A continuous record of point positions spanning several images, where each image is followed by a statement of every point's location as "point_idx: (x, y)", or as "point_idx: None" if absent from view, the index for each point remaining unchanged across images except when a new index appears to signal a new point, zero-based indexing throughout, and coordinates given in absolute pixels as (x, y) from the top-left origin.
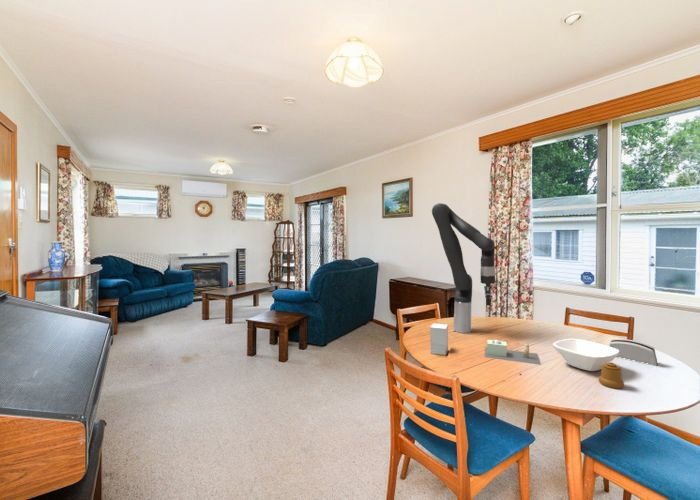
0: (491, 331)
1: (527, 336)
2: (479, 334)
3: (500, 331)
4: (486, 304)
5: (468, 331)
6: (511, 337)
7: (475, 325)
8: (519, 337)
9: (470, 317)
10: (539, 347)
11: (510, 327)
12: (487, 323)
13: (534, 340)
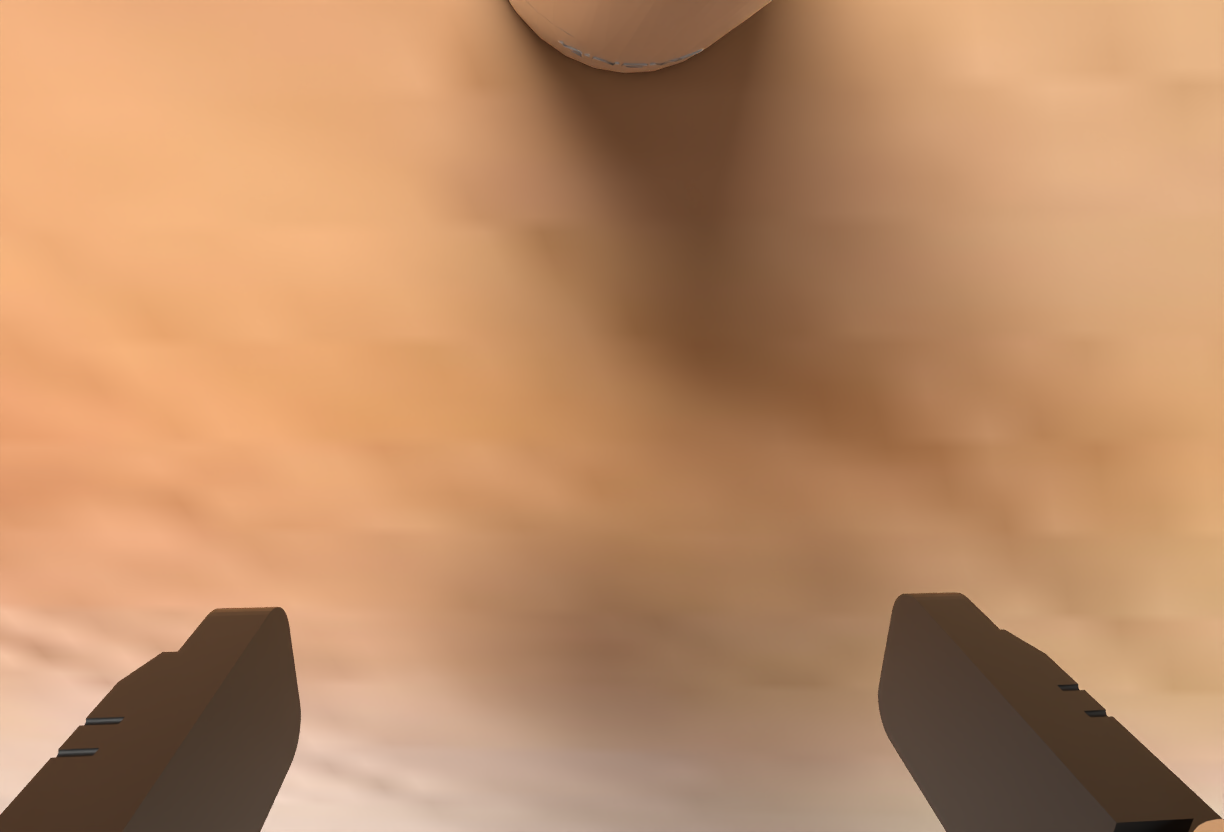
0: (755, 387)
1: (666, 749)
2: (527, 219)
3: (790, 496)
4: (213, 630)
5: (530, 23)
6: (554, 609)
7: (1049, 145)
8: (591, 682)
9: (591, 2)
10: (296, 828)
11: (1014, 604)
12: (1188, 331)
13: (535, 799)
